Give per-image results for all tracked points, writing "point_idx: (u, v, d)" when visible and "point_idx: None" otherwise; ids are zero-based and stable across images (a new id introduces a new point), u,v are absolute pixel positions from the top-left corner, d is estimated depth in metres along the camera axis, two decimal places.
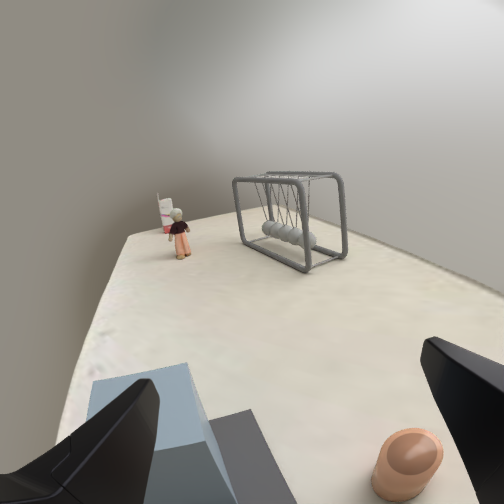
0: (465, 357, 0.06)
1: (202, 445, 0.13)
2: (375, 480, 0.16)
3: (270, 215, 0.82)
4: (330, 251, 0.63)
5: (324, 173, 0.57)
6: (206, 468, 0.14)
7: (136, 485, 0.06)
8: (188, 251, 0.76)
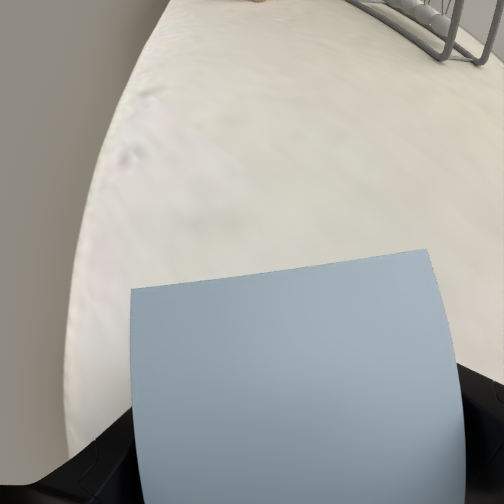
0: None
1: None
2: None
3: None
4: (463, 49, 0.30)
5: None
6: None
7: None
8: None
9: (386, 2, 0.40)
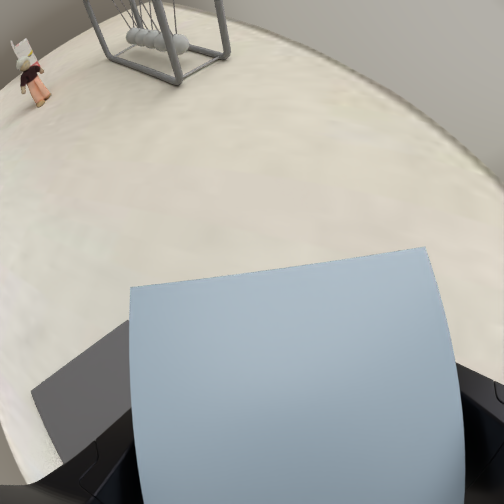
0: None
1: None
2: None
3: (137, 20, 0.46)
4: (209, 51, 0.42)
5: None
6: None
7: None
8: (47, 94, 0.45)
9: None
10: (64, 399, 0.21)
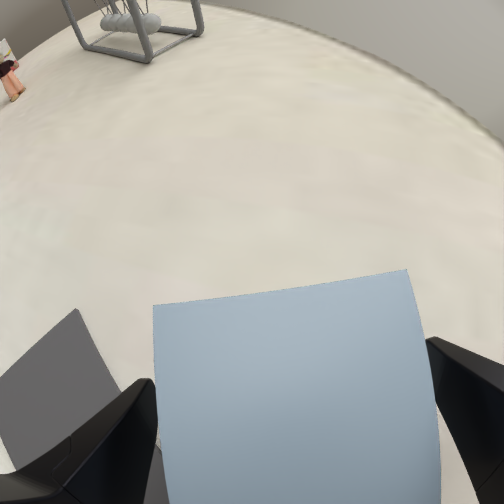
0: (465, 357, 0.06)
1: (427, 503, 0.05)
2: None
3: (112, 8, 0.41)
4: (183, 30, 0.37)
5: None
6: None
7: (136, 485, 0.06)
8: (20, 88, 0.40)
9: None
10: (15, 402, 0.15)
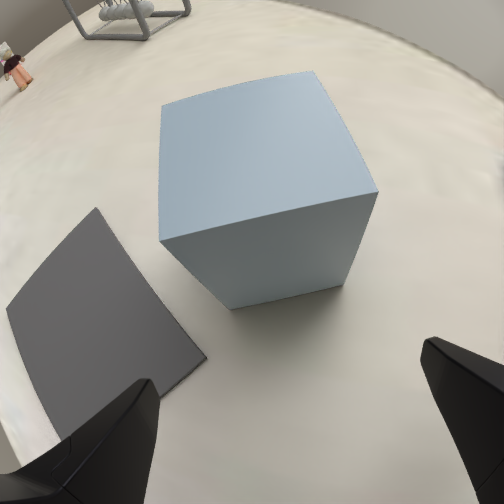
0: (465, 357, 0.06)
1: (369, 199, 0.09)
2: None
3: (108, 2, 0.45)
4: (173, 12, 0.40)
5: None
6: (349, 234, 0.11)
7: (136, 485, 0.06)
8: (29, 78, 0.44)
9: None
10: (34, 303, 0.21)
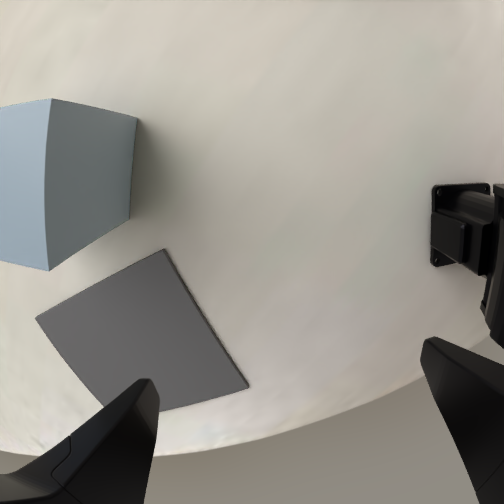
0: (465, 357, 0.06)
1: (55, 104, 0.09)
2: None
3: None
4: None
5: None
6: (82, 118, 0.11)
7: (136, 485, 0.06)
8: None
9: None
10: (109, 390, 0.25)
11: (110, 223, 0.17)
